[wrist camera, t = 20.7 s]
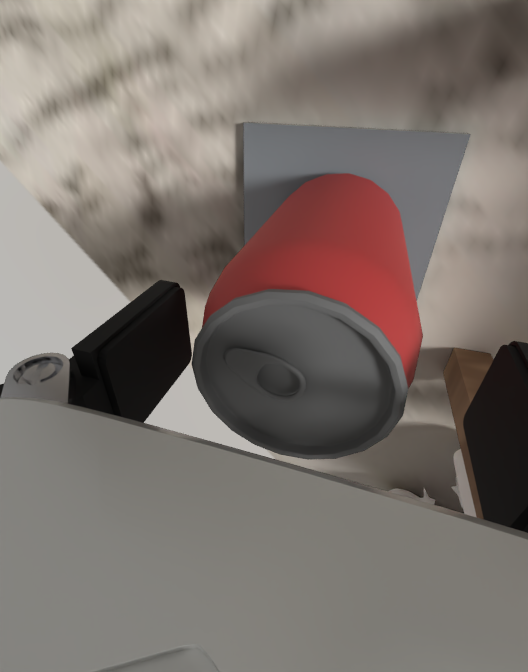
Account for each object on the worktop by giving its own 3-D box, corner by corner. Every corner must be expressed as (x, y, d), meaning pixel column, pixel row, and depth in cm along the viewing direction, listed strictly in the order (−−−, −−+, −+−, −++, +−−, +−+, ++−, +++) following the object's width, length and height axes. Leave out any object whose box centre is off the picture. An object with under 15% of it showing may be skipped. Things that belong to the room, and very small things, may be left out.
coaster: (467, 133, 15) (470, 134, 14) (406, 325, 21) (406, 330, 20) (247, 121, 17) (243, 122, 16) (247, 300, 23) (244, 304, 22)
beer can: (308, 145, 16) (209, 214, 7) (432, 209, 16) (506, 365, 7) (259, 261, 20) (153, 407, 11) (358, 312, 20) (340, 501, 11)
